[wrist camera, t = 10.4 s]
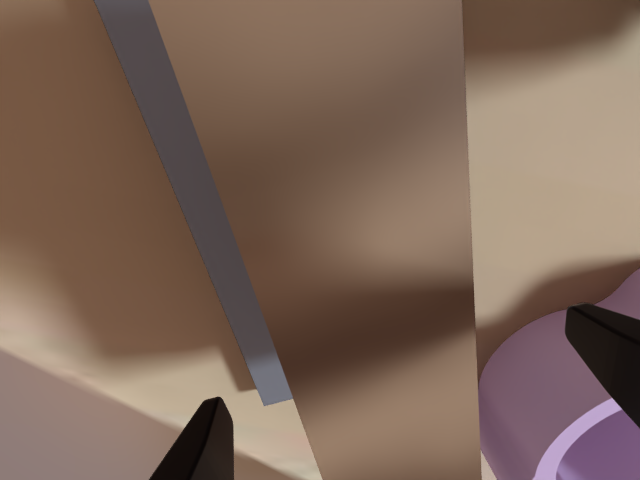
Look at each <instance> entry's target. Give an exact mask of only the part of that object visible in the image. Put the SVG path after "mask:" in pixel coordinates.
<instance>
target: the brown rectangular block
mask: <svg viewBox="0 0 640 480" xmlns="http://www.w3.org/2000/svg"><path fill="white" fill-rule="evenodd" d="M148 1H149V4H150V6H151V9H152V12H153V15H154V17H155V20H156V23H157V26H158V28H159V31H160V34H161V37H162V39H163V42H164V45H165V48H166V50H167V53H168V56H169V59H170V61H171V64H172V67H173V70H174V72H175V75H176V78H177V81H178V83H179V86H180V89H181V92H182V94H183V97H184V100H185V103H186V105H187V108H188V111H189V113H190V116H191V119H192V122H193V124H194V127H195V130H196V133H197V135H198V138H199V141H200V144H201V146H202V149H203V152H204V155H205V157H206V160H207V163H208V166H209V168H210V171H211V174H212V177H213V179H214V182H215V185H216V188H217V190H218V193H219V196H220V199H221V201H222V204H223V207H224V210H225V212H226V215H227V218H228V221H229V223H230V226H231V229H232V232H233V234H234V237H235V240H236V243H237V245H238V248H239V251H240V254H241V256H242V259H243V262H244V265H245V267H246V270H247V273H248V276H249V278H250V281H251V284H252V287H253V289H254V292H255V295H256V298H257V300H258V303H259V306H260V309H261V311H262V314H263V317H264V320H265V322H266V325H267V328H268V331H269V333H270V336H271V339H272V342H273V344H274V347H275V350H276V353H277V355H278V358H279V361H280V364H281V366H282V369H283V372H284V374H285V377H286V380H287V383H288V385H289V388H290V391H291V394H292V396H293V399H294V402H295V405H296V407H297V410H298V413H299V416H300V418H301V421H302V424H303V427H304V429H305V432H306V435H307V438H308V440H309V443H310V446H311V449H312V451H313V454H314V457H315V460H316V462H317V465H318V468H319V471H320V473H321V476H322V479H323V480H482V476H481V452H480V428H479V403H478V379H477V355H476V331H475V306H474V282H473V258H472V233H471V209H470V185H469V161H468V136H467V112H466V88H465V63H464V39H463V15H462V0H148Z"/></svg>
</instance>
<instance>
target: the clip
mask: <svg viewBox="0 0 640 480" xmlns="http://www.w3.org/2000/svg"><path fill="white" fill-rule="evenodd" d="M594 305H596V306H599V307H602V308H605V309H608V310H611V311H614V312H618V313H621V314H624V315H627V316H630V317H633V318H636V319H639V320H640V268H639V269H638V270H636V271H635V272H634V273H632V274H631V275H630V276H629V277H628V278H627V279H626V280H625V281H624V282H623V283H622V284H621V285H620V286H619V287H618V289H617V290H616V291H615V292H613V293H612V294H611V295H610V296H608V297H607V298H605V299H604V300H602V301H600V302H598V303H596V304H594ZM566 311H567V309H566V310H561V311H557V312H554V313H551V314H548V315H545V316H543V317H541V318H538V319H536V320H534V321H532V322H531V323H529V324H527V325H525V326H524V327H522V328H521V329H519V330H518V331H516V332H515V333H514V334H512V335H511V336H510V337H509V338H508V339H507V340H505V341H504V342H503V343H502V344H501V345H500V346H499V347H498V349H497V350H496V351H495V352H494V353H493V355H492V356H491V357H490V359H489V360H488V362H487V364H486V366H485V367H484V370H483V372H482V374H481V377H480V381H479V387H478V403H479V428H480V449H481V451H482V453H483V455H484V457H485V458H486V460H487V462H488V464H489V466H490V468H491V469H492V471H493V473H494V475H495V477H496V478H497V480H640V428H639V427H638V426H637V425H636V424H635V423H634V422H633V421H632V420H631V419H630V417H629V416H628V415H627V414H626V413H625V412H624V411H623V410H622V409H621V407H620V406H619V405H618V404H617V403H616V402H615V401H614V400H613V398H612V397H611V396H610V395H609V394H608V393H607V391H606V390H605V389H604V388H603V386H602V385H601V384H600V382H599V381H598V380H597V378H596V377H595V376H594V374H593V373H592V372H591V370H590V369H589V368H588V366H587V365H586V364H585V362H584V361H583V360H582V358H581V357H580V356H579V355H578V353H577V352H576V351H575V349H574V348H573V347H572V345H571V344H570V343H569V341H568V340H567V338H566V335H565V321H566Z"/></svg>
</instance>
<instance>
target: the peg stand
mask: <svg viewBox="0 0 640 480" xmlns="http://www.w3.org/2000/svg"><path fill="white" fill-rule="evenodd" d="M94 2H95V4H96V6H97V9H98V11H99V14H100V16H101V18H102V21H103V23H104V26H105V28H106V30H107V33H108V35H109V37H110V40H111V42H112V45H113V47H114V49H115V52H116V54H117V57H118V59H119V61H120V64H121V66H122V68H123V71H124V73H125V76H126V78H127V80H128V83H129V85H130V88H131V90H132V92H133V95H134V97H135V99H136V102H137V104H138V107H139V109H140V111H141V114H142V116H143V119H144V121H145V123H146V126H147V128H148V130H149V133H150V135H151V138H152V140H153V142H154V145H155V147H156V149H157V152H158V154H159V157H160V159H161V161H162V164H163V166H164V169H165V171H166V173H167V176H168V178H169V180H170V183H171V185H172V188H173V190H174V192H175V195H176V197H177V200H178V202H179V204H180V207H181V209H182V211H183V214H184V216H185V219H186V221H187V223H188V226H189V228H190V231H191V233H192V235H193V238H194V240H195V242H196V245H197V247H198V250H199V252H200V254H201V257H202V259H203V262H204V264H205V266H206V269H207V271H208V273H209V276H210V278H211V281H212V283H213V285H214V288H215V290H216V293H217V295H218V297H219V300H220V302H221V304H222V307H223V309H224V312H225V314H226V316H227V319H228V321H229V324H230V326H231V328H232V331H233V333H234V335H235V338H236V340H237V343H238V345H239V347H240V350H241V352H242V355H243V357H244V359H245V362H246V364H247V366H248V369H249V371H250V374H251V376H252V378H253V381H254V383H255V386H256V388H257V390H258V393H259V395H260V397H261V400H262V402H263V405H264V406H266V405H270V404H274V403H278V402H282V401H286V400H290V399H293V396H292V394H291V391H290V388H289V385H288V383H287V380H286V377H285V374H284V372H283V369H282V366H281V364H280V361H279V358H278V355H277V353H276V350H275V347H274V344H273V342H272V339H271V336H270V333H269V331H268V328H267V325H266V322H265V320H264V317H263V314H262V311H261V309H260V306H259V303H258V300H257V298H256V295H255V292H254V289H253V287H252V284H251V281H250V278H249V276H248V273H247V270H246V267H245V265H244V262H243V259H242V256H241V254H240V251H239V248H238V245H237V243H236V240H235V237H234V234H233V232H232V229H231V226H230V223H229V221H228V218H227V215H226V212H225V210H224V207H223V204H222V201H221V199H220V196H219V193H218V190H217V188H216V185H215V182H214V179H213V177H212V174H211V171H210V168H209V166H208V163H207V160H206V157H205V155H204V152H203V149H202V146H201V144H200V141H199V138H198V135H197V133H196V130H195V127H194V124H193V122H192V119H191V116H190V113H189V111H188V108H187V105H186V103H185V100H184V97H183V94H182V92H181V89H180V86H179V83H178V81H177V78H176V75H175V72H174V70H173V67H172V64H171V61H170V59H169V56H168V53H167V50H166V48H165V45H164V42H163V39H162V37H161V34H160V31H159V28H158V26H157V23H156V20H155V17H154V15H153V12H152V9H151V6H150V4H149V1H148V0H94Z"/></svg>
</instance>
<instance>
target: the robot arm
mask: <svg viewBox="0 0 640 480" xmlns="http://www.w3.org/2000/svg"><path fill="white" fill-rule="evenodd" d="M565 335H566V338H567V340H568V341H569V343H570V344H571V345H572V347H573V348H574V349H575V351H576V352H577V353H578V355H579V356H580V357H581V358H582V360H583V361H584V362H585V364H586V365H587V366H588V368H589V369H590V370H591V372H592V373H593V374H594V376H595V377H596V378H597V380H598V381H599V382H600V384H601V385H602V386H603V388H604V389H605V390H606V391H607V393H608V394H609V395H610V396H611V397H612V398H613V400H614V401H615V402H616V403H617V404H618V405H619V406H620V407H621V409H622V410H623V411H624V412H625V413H626V414H627V415H628V416H629V417H630V419H631V420H632V421H633V422H634V423H635V424H636V425H637V426H638V427H639V428H640V320H639V319H636V318H633V317H630V316H627V315H624V314H621V313H618V312H614V311H611V310H608V309H605V308H602V307H599V306H596V305H593V304H590V303H579V304H575V305H572V306H569V307H568V309H567V311H566V321H565ZM149 480H234V439H233V421H232V418H231V415H230V413H229V411H228V409H227V407H226V405H225V403H224V401H223V399H222V398H221V397H215V398H211V399H207V400H205V401H203V402H202V404H201V405H200V407H199V408H198V409H197V411H196V412H195V414H194V415H193V417H192V418H191V420H190V421H189V422H188V424H187V425H186V427H185V428H184V430H183V431H182V432H181V434H180V435H179V437H178V438H177V440H176V441H175V443H174V444H173V446H172V447H171V448H170V450H169V451H168V453H167V454H166V456H165V457H164V459H163V460H162V461H161V463H160V464H159V466H158V467H157V469H156V470H155V471H154V473H153V474H152V476H151V477H150V479H149Z"/></svg>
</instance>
